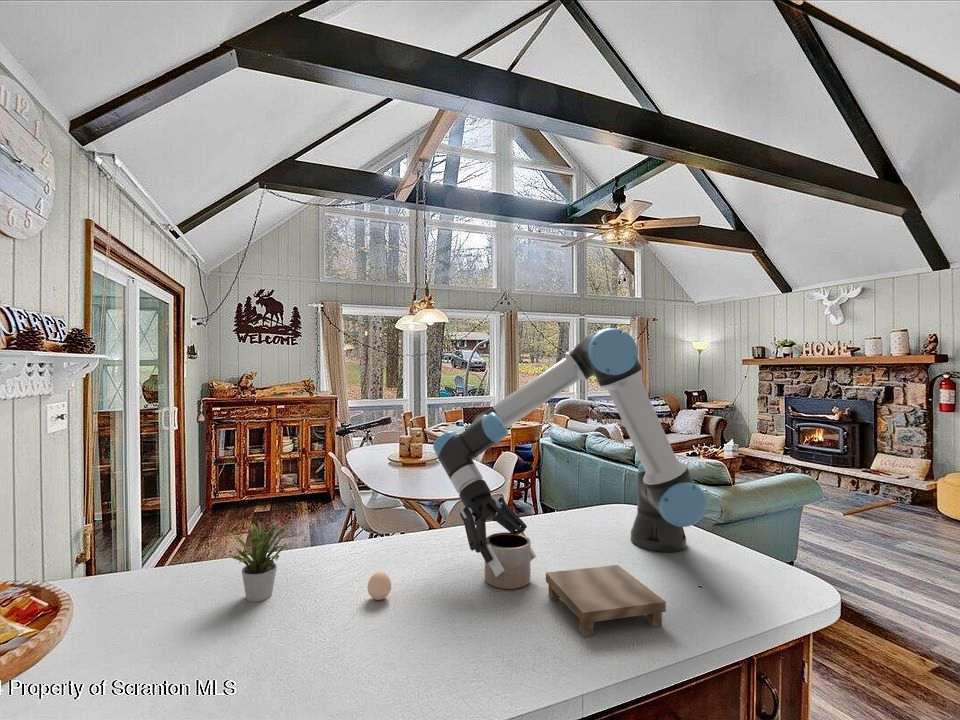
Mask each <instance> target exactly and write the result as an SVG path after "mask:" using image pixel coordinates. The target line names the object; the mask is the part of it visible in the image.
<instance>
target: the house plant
mask: <svg viewBox="0 0 960 720" xmlns="http://www.w3.org/2000/svg"><path fill="white" fill-rule="evenodd" d="M278 522H279V519H278V520H276V521H274V522H273V523H272V525H271V527H270V528H269V531H268V533H267V532H265V531H266V530H265V529H264V528H263V526H262V523H261V522H260V521H259V520H257V524H258V527H257V526H256V524H255V523H252V522H251V523H250V536H251V538H250V539H251V540H250V541H251V542H250V543H251V551H250V549H249V548H248V546H247V545H246V543H245V542H244V541H243V540H242V539H241V538H240V537H238V536H236V535H234V534H233V533H231V532H227V533H226V534H228V535H230V536H232V537H233V538H235V539H236V541H237V542H238V543H239V544H241V546H242V547H243V549H244V550H245V551H246V552H247V554H248V555H249V556H248V555H247V554H246V553H245V552H244V551H243V550H242V549H240V548H238V547H235V549H236V551H237V552H238V554H239V555H234V556H231V557H230V558H229V559H233V560H236V561H239V562H238V564H241V563H244V565H245V566H244V567H243V568H242V569H241V575H242V580H243V587H244V593H245V598H246V600H247V601H248V602H255V603H257V602H262V601H265V600H268V599H270V598H271V597H272V595H273V591H274V583H275V579H276V573H277V568H278V565H277V563H275V561H276V562H277V561H278V559H279V558H280V555H279V553H280V552H282V550H284V549H285V548H286V549H287V550H288V549H289V548H288V547H287V546H290V545H293V544H294V543H288V544H286V545H278V544H279V542H280V541H281V540H283V538H285V537H286V536H287V535H291V534H293V532H290V533H289V532H288V533H285V534H284V535H280V534H281V533H282V532H284V531H285V530H287V528H290V527H292V526H295V525H296V523H292V524H288V525H285V526H284V527H282V528H281V529H280V530H278V531H277V533H276V534H275V535H274V532H275V530H276V529H277V527H278V525H277V524H278ZM258 528H259V529H258ZM273 535H274V537H273ZM272 537H273V538H272ZM279 537H280V538H279ZM277 538H278V540H277V541H276V543H275V540H276V539H277ZM271 539H272V540H271ZM273 543H275V544H274V546H273V547H272V545H273ZM277 545H278V546H277ZM271 547H272V549H271V550H270V548H271ZM269 550H270V551H269ZM276 550H278V551H277V552H276V553H275V554H274V555H272V554H273V553H274V552H275V551H276ZM268 552H269V553H268ZM271 555H272V556H271ZM274 560H275V561H274Z"/></svg>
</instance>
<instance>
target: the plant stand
mask: <svg viewBox="0 0 960 720" xmlns="http://www.w3.org/2000/svg"><path fill="white" fill-rule="evenodd" d="M545 582H546V583H547V585H548V596H550V597H549V598H550V599H551V600H552V599H556V600H561V601H562V602H563V603H565V605H566V606H567V607H568V608H569V609H570V611H571V612H572V613H573V614H574V615H575V616H576V617H577V618H578V628H579V629H578V632H579V633H580V635H581V636H582V637H583V638H589V637H593V636H594V624H595V623H596V622H602V621H609V620H616V619H625V618H631V617H637V616H645V615H646V623H648V624H649V625H650V626H651V627H652V628H657V627H662V626H663V625H662V624H663V623H662V622H663V621H662V620H663V618H662V617H663V613H666V611H667V609H666V607H667V605H666V604H667V602H666V600H664V599H663V598H662V597H661V596H659V595H657V593H655V592H654V591H652V590H651V588H649V587H647V586H646V585H645V584H643V583H642V582H641V581H640V580H638V579H637V578H636V577H634V576H633V575H632V574H631V573H629V572H628V571H627V570H625V569H624V568H623V567H622V566H620V565H619V564H614V565H605V566H594V567H587V568H577V569H568V570H567V569H566V570H559V571H557V570H556V571H549V572H545ZM559 598H561V599H559Z"/></svg>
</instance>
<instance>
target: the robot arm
mask: <svg viewBox="0 0 960 720" xmlns="http://www.w3.org/2000/svg"><path fill="white" fill-rule="evenodd" d="M638 350H639V349H638V345H637V342H636V341H635V339H634V338H633V336H631V335H630V334H629V333H628V332H626V331H624V330H622V329H621V328H620V329H619V328H616V327H605V328H602V329H600V330H599V329H598V330H595V331H592V332H591V333H589V334H587V335H586V336H585V337H584V338H583V339H582V340H581V341H580V342H579V343H577V344H576V345H575V346H574V347H572V348H571V349H570V350H567V352H565V354H564V358H562V359H561V360H559V361H558V362H556V363H555V364H554V365H552V366H550V367H549V368H548V369H546V370H544V371H543V372H542V373H540V374H538V375H537V376H536V377H534V378H533V379H531V380H530V381H528V382H527V383H525V384H524V385H522V386H521V387H520V388H517V390H515V391H514V392H511V393H510V394H509V395H507V396H506V397H505V398H503V399H501V400H499V402H497V403H496V404H495V405H493V406H491V407H490V408H488V409H487V410H485V411H484V412H481V413H478V414H477V415H476V416H475V417H474V419H473V420H472V423H471V426H469V427H467V429H465V430H464V431H462V432H461V433H457V432H456V431H452V430H451V431H447V432H445V433H444V434H441V435H439V436H438V437H437V438H436V439H435V441H434V442H433V450H434V452H435V455H436V457H437V460H438V461H439V463H440V464H441V466H442V467H443V470H444V471H445V473H446V474H447V476H448V478H449V480H450V482H451V484H452V485H453V487H454V489H455V490H456V493H457V494H458V496H459V498H460V501H461V502H462V504H463V505H464V508H462V510H461V511H460V513H459V516H460V518H461V520H462V521H463V525H464V528H465V533H466V537H467V542H468V545H469V549H470V550H471V551H472V552H473V551H475V553H477V554H478V553H480V554H481V556H482V557H483V560H484V562H485V561H486V563H489V565H490V567H491V569H492V571H493V573H494V574H495V576H496V577H497V576H499V575H500V574H501V573H502V572H503V571H504V568H503V567H502V565H501V563H500V561H499V559H498V558H497V556H496V554H495V552H494V550H493V549H492V547H491V545H487V543H486V538H487V527H486V526H487V525H486V521H493V522H496V523H498V524H499V525H500V526H501V527H503V528H504V529H506V530H507V532H508V533H517V534H521V535H524V536H526V534H525V533H524V532H525V531H526V529H527V524H526V523H525V522H524V521H523V520H522V519H521V518H520V517H519V516H518V515H517V514H516V512H515V511H514V510H513V509H512V508H511V507H510V506H509V505H508V504H507V502H506V501H505V499H504V498H503V497H502V496H501V497H499V498H498V499H494V498H493V497H492V495H491V488H490V487H489V486H488V484H487V482H486V480H484V478H483V475H482V474H481V472H480V470H479V469H478V467H477V465H476V464H475V463H474V459H476V458H477V457H479V456H480V455H482V454H483V453H485V452H486V451H487V450H489V449H490V448H492V447H493V446H495V445H497V444H498V443H500V442H501V441H502V440H503V439H504V438H506V437H507V436H508V434H509V430H508V429H509V427H511V426H512V425H514V424H515V423H517V422H519V421H520V420H521V419H522V418H524V417H526V416H527V415H529V414H531V413H532V412H533V411H535V410H537V409H538V408H540V407H541V406H543V405H544V404H545V403H547V402H548V401H550V400H551V399H553V398H554V397H556V396H557V395H559V394H560V393H562V392H563V391H565V390H567V389H568V388H569V387H571V386H573V385H574V384H576V383H577V382H579V381H586V380H588V379H590V378H591V377H595V378H596V381H597V383H598V384H599V387H600V388H603V389H605V390H607V391H608V393H609V394H610V398H611V399H612V401H613V404H614V406H615V408H616V410H617V412H618V413H617V414H618V415H619V417H620V420H621V421H622V423H623V425H624V428H625V430H626V433H627V435H628V437H629V439H630V440H631V443H632V445H633V448H634V450H635V451H636V452H635V453H636V455H637V456H638V458H639V461H640V463H639V464H638V467H637V473H636V474H637V503H636V504H637V509H636V511H637V513H636V517H635V519H634V521H633V525H632V528H631V530H630V541H631V543H633V544H634V545H635V546H638V547H640V548H642V549H645V550H649V551H655V552H661V553H662V552H663V553H675V552H681V551H683V550H685V549H686V548H687V536H686V534H685V529H684V528H687V527H691V526H693V525H695V524H697V523H698V522H699V521H701V519H702V518H703V517H704V515H705V513H706V511H707V508H708V501H707V500H708V499H707V497H706V494H705V493H704V490H702V488H701V487H700V486H699V485H698V484H696V483H695V481H694V480H693V476H691V473H690V470H689V469H688V467H687V464H686V463H684V462H682V461H679V460H678V458H677V457H676V455H675V452H674V450H673V448H672V445H671V443H670V442H669V441H670V440H669V439H668V437H667V435H666V432H665V430H664V428H663V425H662V424H661V421H660V419H659V417H658V414H657V413H656V410H655V408H654V406H653V404H652V401H651V400H650V397H649V396H648V393H647V390H646V388H645V387H644V384H643V382H642V380H641V374H642V371H643V367H642V365H641V363H640V361H639V360H640V359H639V358H638V354H639V353H638V352H639V351H638ZM486 545H487V546H486ZM535 558H537V555H536V553H535V552H534V550H533V549H532V547H531V546H530V563H531V562H532V561H533V560H534V559H535Z"/></svg>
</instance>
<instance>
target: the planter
mask: <svg viewBox="0 0 960 720" xmlns="http://www.w3.org/2000/svg"><path fill="white" fill-rule="evenodd" d="M486 543H487V545H491V547H492V549H493V550H494V552H495V554H496V556H497V558H498V559H499V561H500V563H501V565H502V567H503V568H504V571H503V572H502V573H501V574H500V575H499V576H497V577H496V576H495V574H494V573H493V571H492V569H491V567H490V565H489V563H486V561H485V560H484V580H485V582H486V583H487V584H489V585H490V586H492V587H494V588H497V589H500V590H518V589H521V588H523V587H525V586H527V585H528V584H529V583H530V582H531V562H530V547H531V539H530V538H529V537H527V535H525V536H524V535H521V534H517V533H511V532H496V533H492V534H490V535H487V536H486ZM487 545H486V546H487Z"/></svg>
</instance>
